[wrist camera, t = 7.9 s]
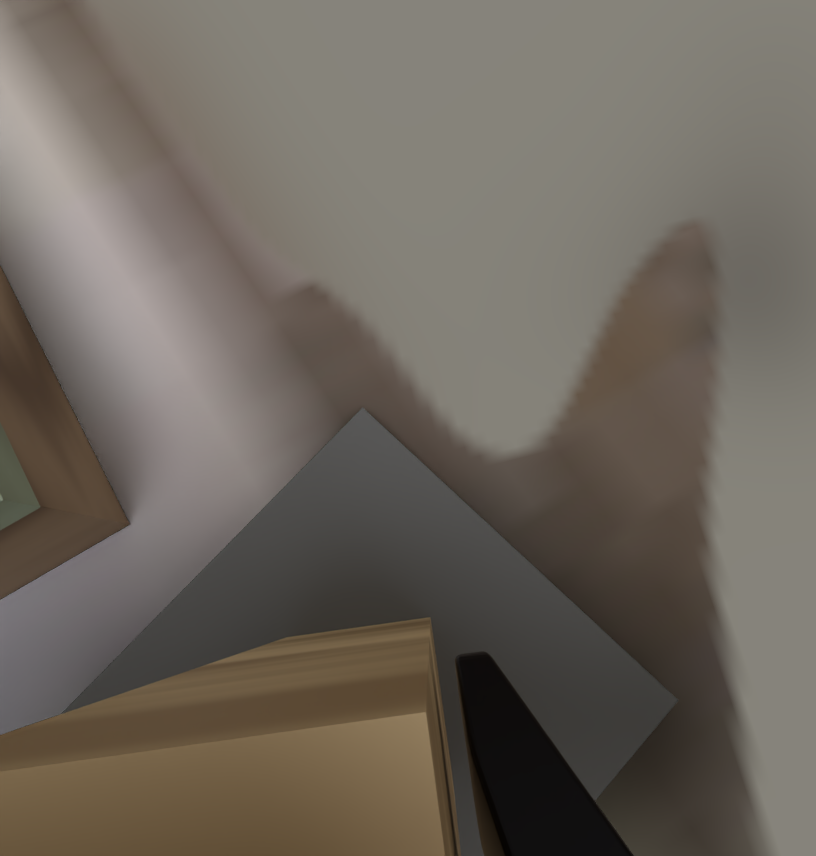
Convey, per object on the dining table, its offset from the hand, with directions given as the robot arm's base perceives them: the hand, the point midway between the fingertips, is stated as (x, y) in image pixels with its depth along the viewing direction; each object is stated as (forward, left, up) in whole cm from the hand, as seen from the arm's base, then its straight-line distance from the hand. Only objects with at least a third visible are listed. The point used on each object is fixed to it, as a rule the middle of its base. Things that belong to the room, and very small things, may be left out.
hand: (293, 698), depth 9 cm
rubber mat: (-1, +1, -9) cm, 9 cm away
